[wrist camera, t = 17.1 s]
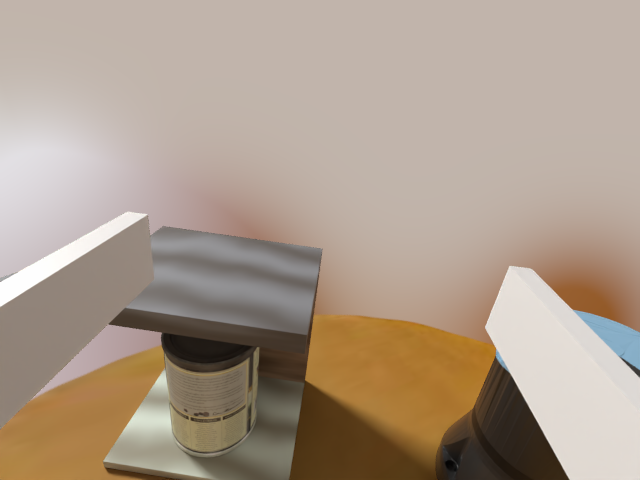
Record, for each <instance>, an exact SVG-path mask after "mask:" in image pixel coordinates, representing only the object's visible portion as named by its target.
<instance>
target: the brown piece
mask: <svg viewBox="0 0 640 480" xmlns="http://www.w3.org/2000/svg"><path fill="white" fill-rule="evenodd" d="M150 240H151V250H152V260H153V270H154V280H153V281H152V282H151V283H150V284H149V285H148V286H147V287H146V288H145V289H144V290H143V291H142V292H141V293H140V294H139V295H138V296H137V297H136V298H135V299H133V300H132V301H131V302H130V303H129V304H128V305H127V306H126V307H125V308H124V309H123V310H122V311H121V312H120V313H119V314H118V315H117V316H116V317H115V318H114V319H113V320H112V321H111V322H110V323H109V325H116V326H122V327H129V328H136V329H143V330H150V331H155V332H162V333H169V334H175V335H182V336H188V337H195V338H202V339H208V340H215V341H221V342H228V343H235V344H241V345H248V346H255V347H259V366H258V386H257V405H256V410H257V417H256V423H255V426H254V428H253V430H252V432H251V434H250V435H249V437H248V438H247V439H246V440H245V441H244V442H243V443H242V444H241V445H240V446H238V447H237V448H235V449H234V450H233V451H230V452H228V453H226V454H223V455H220V456H216V457H209V458H205V457H196V456H193V455H190V454H188V453H186V452H184V451H183V450H182V449H181V448H180V447H179V446H178V445H177V444H176V442H175V441H174V439H173V436H172V431H171V416H170V407H169V396H168V386H167V377H166V369H164V370H163V372H162V373H161V375H160V376H159V378H158V379H157V381H156V382H155V384H154V385H153V387H152V388H151V390H150V391H149V393H148V395H147V396H146V398H145V399H144V401H143V402H142V404H141V405H140V407H139V408H138V410H137V411H136V413H135V414H134V416H133V417H132V419H131V420H130V422H129V423H128V425H127V426H126V428H125V429H124V431H123V432H122V434H121V435H120V437H119V438H118V440H117V441H116V443H115V444H114V446H113V447H112V449H111V450H110V452H109V453H108V455H107V456H106V458H105V459H104V461H103V463H104V467H106V468H113V469H119V470H125V471H131V472H137V473H143V474H149V475H155V476H161V477H168V478H174V479H180V480H289V477H290V471H291V465H292V458H293V452H294V446H295V440H296V433H297V427H298V421H299V414H300V408H301V402H302V395H303V389H304V383H305V376H306V368H307V361H308V353H309V346H310V338H311V331H312V323H313V316H314V308H315V301H316V293H317V286H318V278H319V271H320V263H321V256H322V249H320V248H312V247H306V246H299V245H292V244H285V243H277V242H271V241H264V240H257V239H250V238H243V237H236V236H229V235H222V234H215V233H208V232H201V231H194V230H186V229H180V228H172V227H165V226H163V227H162V228H160V229H159V230H157V231H156V232H155V233H154V234H152V235H151V236H150Z"/></svg>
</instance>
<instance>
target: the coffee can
mask: <svg viewBox="0 0 640 480" xmlns="http://www.w3.org/2000/svg"><path fill="white" fill-rule="evenodd" d="M161 342H162V348H163V350H164V359H165V369H166V377H167V386H168V396H169V407H170V416H171V431H172V436H173V439H174V441H175V442H176V444H177V445H178V446H179V447H180V448H181V449H182V450H183V451H184V452H186V453H188V454H190V455H193V456H196V457H205V458H209V457H216V456H220V455H223V454H226V453H228V452H230V451H233V450H234V449H235V448H237V447H238V446H240V445H241V444H242V443H243V442H244V441H245V440H246V439H247V438H248V437H249V435H250V434H251V432H252V430H253V428H254V426H255V423H256V417H257V410H256V405H257V386H258V366H259V347H255V346H248V345H241V344H235V343H228V342H221V341H215V340H208V339H202V338H195V337H188V336H182V335H175V334H169V333H162V335H161Z"/></svg>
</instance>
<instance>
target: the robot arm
mask: <svg viewBox="0 0 640 480" xmlns="http://www.w3.org/2000/svg"><path fill="white" fill-rule="evenodd" d="M153 280H154V270H153V260H152V250H151V240H150V230H149V220H148V215H147V214H141V213H133V212H126V213H124V214H122V215H121V216H119V217H117V218H116V219H113V220H112V221H110V222H108V223H106V224H104V225H103V226H101V227H99V228H97V229H96V230H94V231H92V232H90V233H88V234H86V235H85V236H83V237H81V238H79V239H77V240H76V241H74V242H72V243H70V244H68V245H66V246H65V247H63V248H61V249H59V250H57V251H56V252H54V253H52V254H50V255H49V256H47V257H45V258H43V259H42V260H39V261H38V262H36V263H34V264H32V265H30V266H29V267H27V268H25V269H23V270H21V271H19V272H17V273H14V274H11V275H8V276H5V277H2V278H0V429H1V428H2V427H3V426H4V425H5V424H6V423H7V422H8V421H9V420H10V419H11V418H12V417H13V416H14V415H15V414H16V413H17V412H18V411H19V410H20V409H22V408H23V407H24V406H25V405H26V404H27V403H28V402H29V401H30V400H31V399H32V398H33V397H34V396H35V395H36V394H37V393H38V392H39V391H40V390H41V389H42V388H43V387H44V386H45V385H46V384H47V383H48V382H49V381H50V380H51V379H52V378H53V377H54V376H55V375H56V374H57V373H58V372H59V371H60V370H62V369H63V368H64V367H65V366H66V365H67V364H68V363H69V362H70V361H71V360H72V359H73V358H74V357H75V356H76V355H77V354H78V353H79V352H80V351H81V350H82V349H83V348H84V347H85V346H86V345H87V344H88V343H89V342H90V341H91V340H92V339H93V338H94V337H95V336H97V335H98V334H99V333H100V332H101V331H102V330H103V329H104V328H105V327H106V326H107V325H108V324H109V323H110V322H111V321H112V320H113V319H114V318H115V317H116V316H117V315H118V314H119V313H120V312H121V311H122V310H123V309H124V308H125V307H126V306H127V305H128V304H129V303H130V302H131V301H132V300H133V299H135V298H136V297H137V296H138V295H139V294H140V293H141V292H142V291H143V290H144V289H145V288H146V287H147V286H148V285H149V284H150V283H151V282H152V281H153ZM485 329H486V330H487V332H488V334H489V336H490V338H491V339H492V341H493V343H494V345H495V347H496V348H497V349H496V351H497V352H496V357H495V359H494V361H493V364H492V366H491V368H490V371H489V373H488V375H487V378H486V380H485V382H484V385H483V387H482V389H481V392H480V394H479V396H478V398H477V401H476V403H475V406H474V408H473V409H472V410H471V411H470V412H468V413H467V414H466V415H464V416H463V417H462V418H461V419H459V420H458V421H457V422H455V423H454V424H453V425H452V426H451V427H450V428H449V429H448V430H447V431H446V433H445V434H444V436H443V438H442V441H441V443H440V445H439V448H438V451H437V455H436V474H437V479H438V480H640V333H639V332H637V331H635V330H633V329H631V328H629V327H627V326H625V325H622V324H620V323H618V322H615V321H612V320H609V319H606V318H603V317H600V316H596V315H593V314H589V313H585V312H580V311H576V310H572V309H571V308H570V307H569V306H568V305H567V304H566V303H565V302H564V301H563V300H562V299H561V298H560V297H559V296H558V295H557V294H556V293H555V292H554V291H553V290H552V289H551V288H550V287H549V286H548V285H547V284H546V283H545V282H544V281H543V280H542V279H541V278H540V277H539V276H538V275H537V274H536V273H535V272H534V271H533V270H532V269H529V268H522V267H515V266H510V267H509V269H508V271H507V274H506V276H505V279H504V281H503V284H502V286H501V289H500V292H499V294H498V296H497V299H496V301H495V304H494V306H493V309H492V311H491V314H490V317H489V319H488V322H487V324H486V326H485Z"/></svg>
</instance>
